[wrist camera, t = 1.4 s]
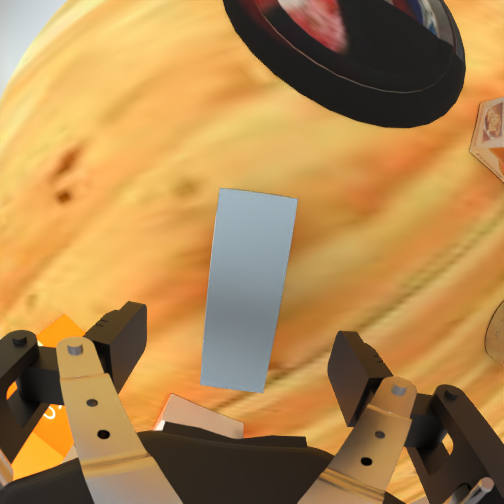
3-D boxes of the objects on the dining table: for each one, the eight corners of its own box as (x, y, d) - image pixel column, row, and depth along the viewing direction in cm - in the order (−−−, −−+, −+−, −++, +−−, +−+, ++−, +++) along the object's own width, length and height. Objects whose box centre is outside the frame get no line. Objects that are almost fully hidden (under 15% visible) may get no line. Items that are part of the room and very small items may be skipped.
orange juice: (98, 398, 30) (25, 517, 10) (45, 352, 28) (-52, 447, 9) (125, 365, 28) (36, 508, 9) (65, 312, 27) (-60, 415, 8)
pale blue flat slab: (280, 195, 25) (297, 199, 15) (259, 326, 27) (263, 392, 17) (230, 188, 25) (215, 187, 15) (214, 320, 27) (196, 384, 17)
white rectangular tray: (243, 422, 30) (242, 450, 25) (184, 490, 34) (180, 512, 29) (171, 393, 29) (161, 419, 25) (131, 469, 33) (123, 490, 28)
